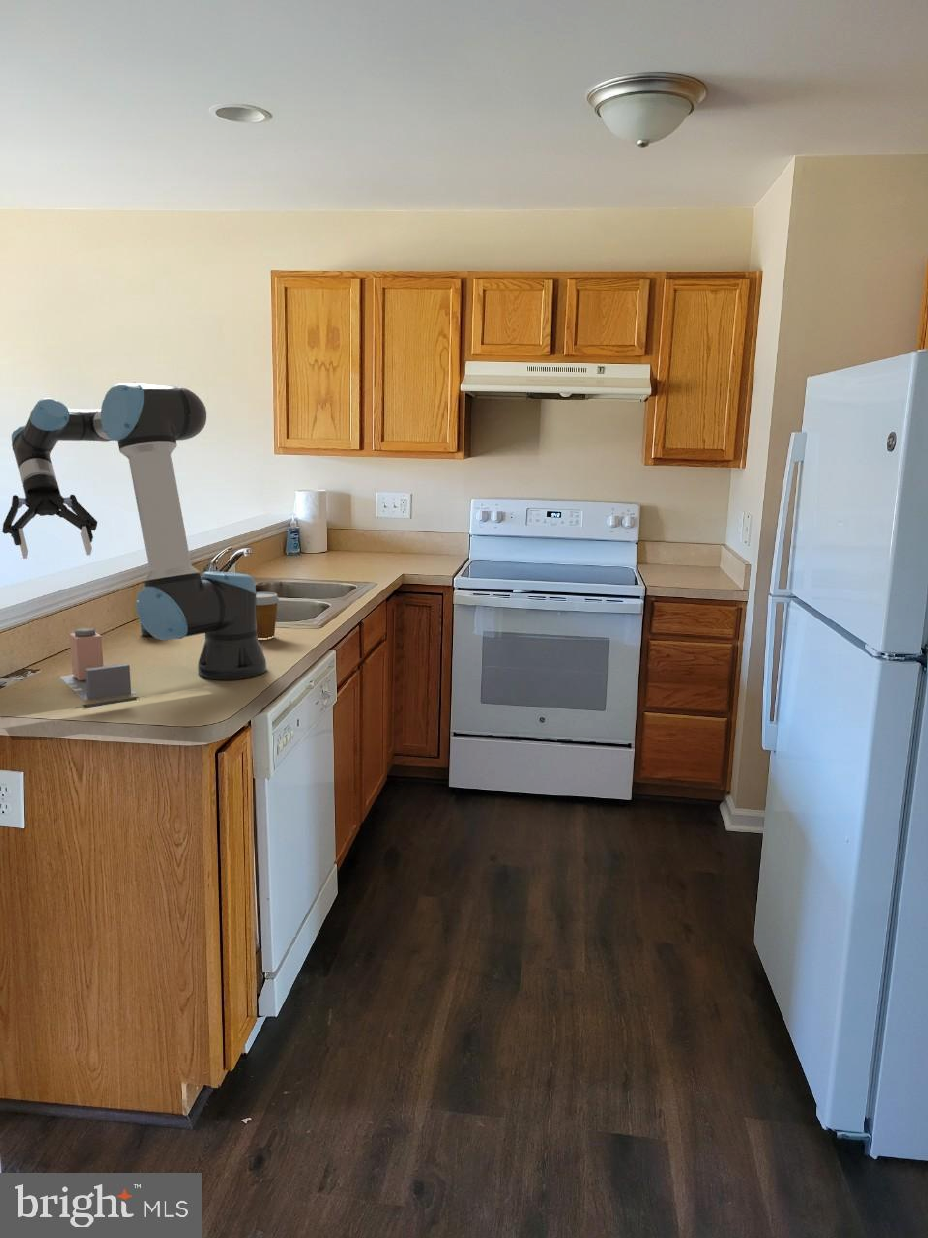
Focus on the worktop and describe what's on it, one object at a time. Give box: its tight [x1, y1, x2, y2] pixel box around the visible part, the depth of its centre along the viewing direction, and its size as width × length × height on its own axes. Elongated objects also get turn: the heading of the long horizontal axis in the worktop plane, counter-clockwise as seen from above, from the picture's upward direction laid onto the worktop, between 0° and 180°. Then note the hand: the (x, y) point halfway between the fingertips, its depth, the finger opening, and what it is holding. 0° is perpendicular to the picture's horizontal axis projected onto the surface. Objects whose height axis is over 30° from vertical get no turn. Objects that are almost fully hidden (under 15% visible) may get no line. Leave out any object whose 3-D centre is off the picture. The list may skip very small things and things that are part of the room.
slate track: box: [59, 662, 138, 709], centre depth 181 cm, size 22×10×8 cm, turn 37°
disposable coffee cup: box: [256, 591, 280, 638], centre depth 231 cm, size 10×10×12 cm
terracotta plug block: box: [69, 627, 104, 680], centre depth 185 cm, size 6×5×10 cm
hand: (58, 553), depth 198 cm, fingers open, 13 cm apart
